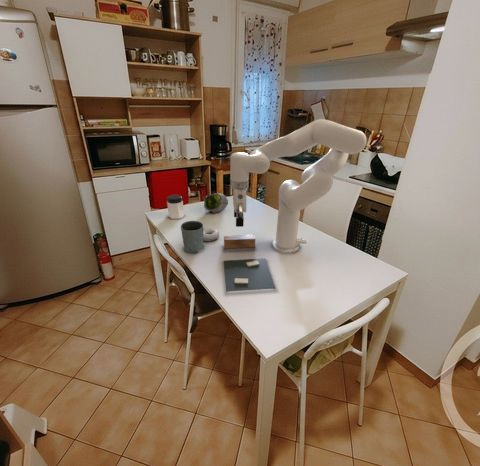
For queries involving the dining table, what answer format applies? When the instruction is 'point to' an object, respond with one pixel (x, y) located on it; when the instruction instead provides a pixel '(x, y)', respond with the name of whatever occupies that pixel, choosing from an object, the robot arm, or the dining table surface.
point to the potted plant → (215, 202)
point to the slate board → (247, 275)
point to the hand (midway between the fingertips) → (238, 221)
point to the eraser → (239, 242)
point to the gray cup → (192, 236)
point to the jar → (175, 206)
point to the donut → (210, 234)
